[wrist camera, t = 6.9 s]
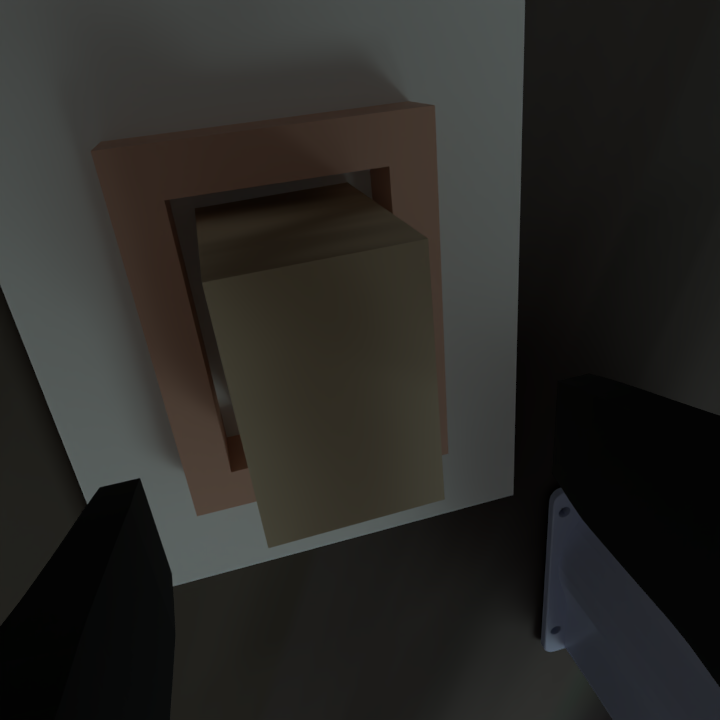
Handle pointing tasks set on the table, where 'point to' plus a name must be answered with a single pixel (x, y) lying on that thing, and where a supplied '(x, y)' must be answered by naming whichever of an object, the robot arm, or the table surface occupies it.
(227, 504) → the holder
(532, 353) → the table surface
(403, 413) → the oak block
